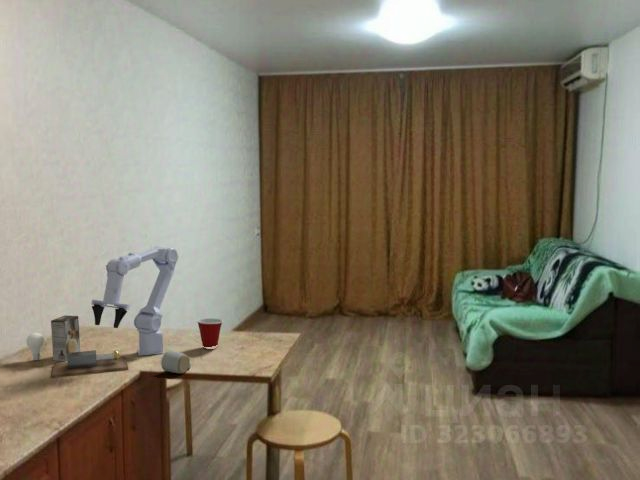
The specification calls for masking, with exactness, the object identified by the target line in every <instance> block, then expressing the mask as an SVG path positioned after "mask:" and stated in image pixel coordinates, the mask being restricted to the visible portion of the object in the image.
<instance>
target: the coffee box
mask: <svg viewBox="0 0 640 480" xmlns="http://www.w3.org/2000/svg"><path fill="white" fill-rule="evenodd" d="M50 327H51V342H52V359H53V361H61V362H67V355H68V353H72V352H81V342H80V340H81V339H80V321H79V316H78V315H63V316H59V317H57V318H55V319H52V320H50Z"/></svg>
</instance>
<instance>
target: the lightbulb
mask: <svg viewBox="0 0 640 480" xmlns="http://www.w3.org/2000/svg"><path fill="white" fill-rule="evenodd" d="M25 343H26V345H27V346H28V348H29V349H30V352H31V355H32V360H33V361H39V360H40V359H41V350H42V347H43V346H44V344H45V337H44V336H43V335H42V333H40V332H33V333H31V334H29V335H28V336H27V338H26V342H25Z"/></svg>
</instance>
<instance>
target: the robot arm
mask: <svg viewBox="0 0 640 480" xmlns="http://www.w3.org/2000/svg"><path fill="white" fill-rule="evenodd" d="M150 260H152V261H153V263H154V264H155V266H156V268H158V270H159V272H158V275H157V277H156V280H155V283H154V286H153V287H152V290H151V293H150V296H149V297H148V300H147V303H146V305H145V306H144V307H141V308H140V310H139V312H138V314H137V315H136V316H135V317H134V319H133V320H134V321H133V324H134V327H135V328H136V331H137V332H138V347H139V348H138V349H137V353H138V356H139V357H140V356H149V355H150V356H151V355H159V354H160V355H161V354H164V339H163V330H161V329H160V328H161V326H162V318H163V315H162V313H161V311H160V309H161V306H162V304H163V302H164V301H163V300H165V299H164V298H165V295H166V293H167V291H168V288H169V286H170V283H171V280H172V278H173V275H174V272H175V268H176V265H177V262H178V260H179V254H178V251H177V250H176V248H174V247H166V246H165V247H163V246H153V247H150V249H147V250H144V251H143V252H141V253H138V254H137V253H135V252H129V253H128V254H127V255H125V256H119V258H118V259H117V258H113V259H111V260H109V261H108V263H107V264H106V265H105V270H106V277H107V279H106V284H105V289H104V295H103V300H100V299H99V300H98V299H92V300H91V305H92V306H91V309H92V312H93V316H94V326H100V324H101V321H102V316H103V315H102V314H103V313H104V310H105V307H106V308H112V309H114V308H115V311H114V312H115V313H114V314H115V316H114V322H113V329H118V328H119V326H120V324H121V322H122V320H123V318H124V317H125V316H126V314H127V313H128V311H129V310H130V304H126V303H120V299H121V292H122V288H123V283H124V278H125V277H124V276H126V275H127V274H128V273H129V271H131V270H133V269H136V268H139V267H140V266H141V264H142V263H144V262H147V261H150Z"/></svg>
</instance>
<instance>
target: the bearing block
mask: <svg viewBox="0 0 640 480" xmlns="http://www.w3.org/2000/svg"><path fill="white" fill-rule="evenodd" d="M96 355H97V350H84V351H83V350H82V351H80V352H72V353H68V355H67V361H66V362H67V363H68V370H71V369H81V368H90V367H97V361H96Z"/></svg>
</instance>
